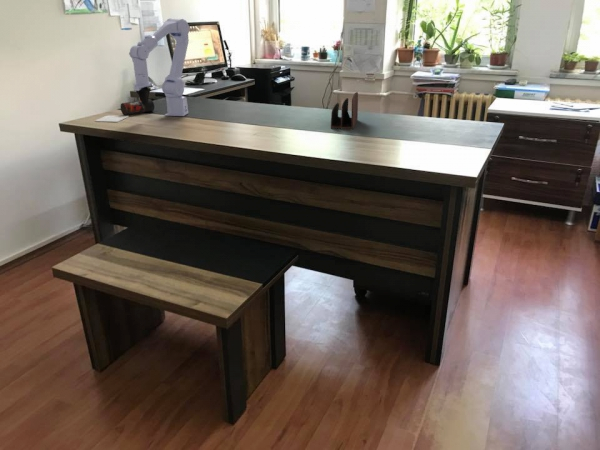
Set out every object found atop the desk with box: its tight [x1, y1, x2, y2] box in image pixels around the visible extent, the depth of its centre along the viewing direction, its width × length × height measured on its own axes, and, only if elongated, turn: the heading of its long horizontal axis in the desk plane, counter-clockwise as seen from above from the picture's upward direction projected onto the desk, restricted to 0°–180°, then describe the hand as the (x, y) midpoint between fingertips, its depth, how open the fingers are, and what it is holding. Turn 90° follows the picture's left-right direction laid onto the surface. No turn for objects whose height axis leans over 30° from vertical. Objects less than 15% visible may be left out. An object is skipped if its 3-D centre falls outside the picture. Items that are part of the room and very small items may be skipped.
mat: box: [94, 115, 130, 123], centre depth 234 cm, size 11×12×1 cm
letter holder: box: [330, 91, 359, 130], centre depth 224 cm, size 10×20×14 cm, turn 168°
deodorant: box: [120, 98, 155, 116], centre depth 246 cm, size 6×6×15 cm
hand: (145, 104), depth 229 cm, fingers closed
